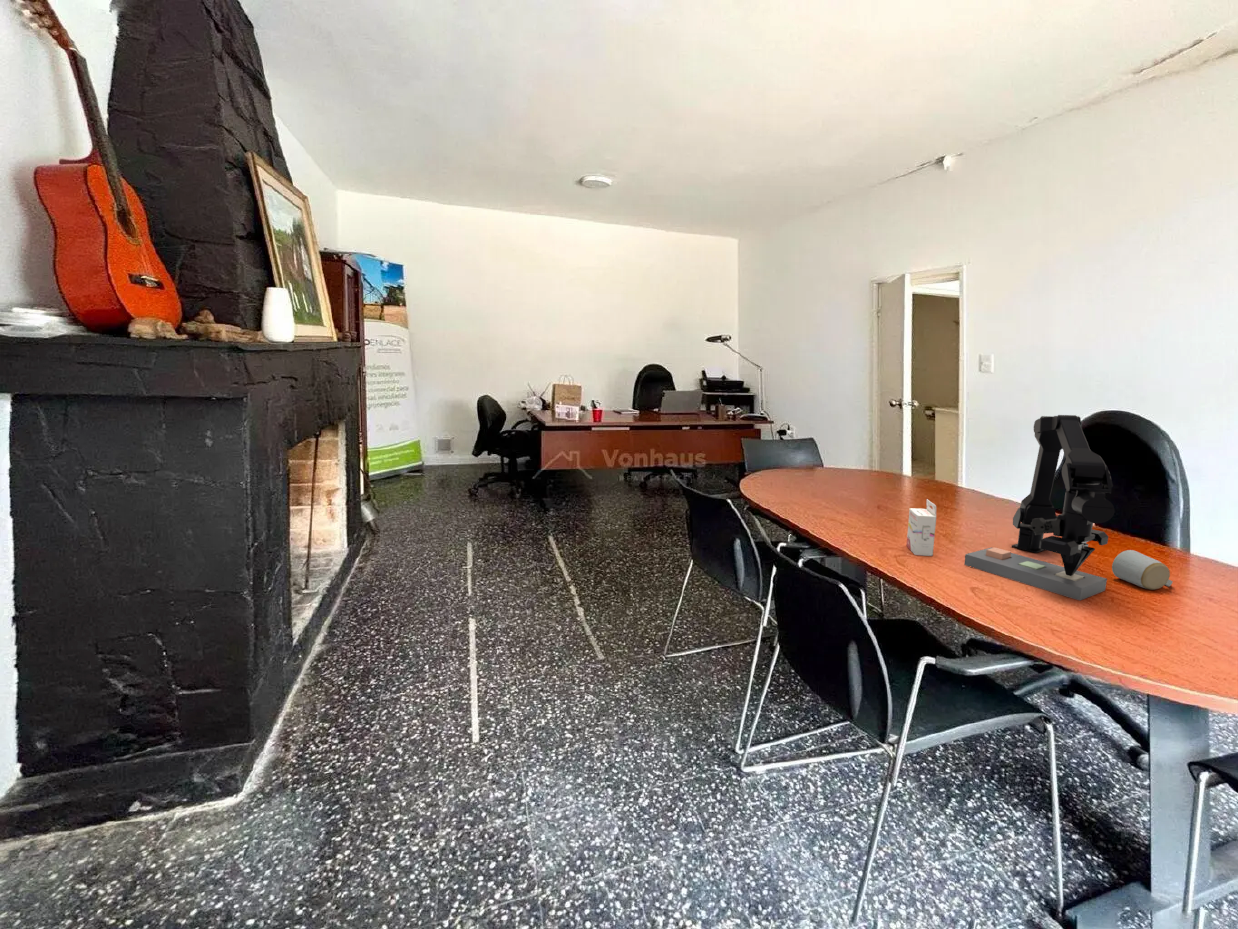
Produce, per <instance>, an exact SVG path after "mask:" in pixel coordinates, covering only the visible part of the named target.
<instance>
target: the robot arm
mask: <svg viewBox="0 0 1238 929" xmlns="http://www.w3.org/2000/svg"><path fill="white" fill-rule="evenodd" d="M1081 423H1082V420H1081V417H1080V416H1077V415H1075V414H1073V415H1072V414H1058V415H1053V416H1051V415H1049V416H1047V415H1046V416H1045V415H1041V416H1040V418H1038V419H1036V420H1035V421H1034V424H1033V433H1034V438H1035V440H1036V441H1037V443H1038V445H1039V448H1038V453H1037V458H1036V463H1035V467H1034V472H1033V478H1032V482H1031V488H1030V491H1029V492H1030V493H1029V494H1028V495H1026V497H1024V498H1023V499H1022V500H1021V502H1020V507H1019V508H1017V510H1016V511H1015V514H1014V515H1013V517H1012V526H1014V527H1015V528H1016V530H1017V529H1018V530H1019V531H1018V537H1017V538H1018V539H1017V543H1014V544H1012V545H1011V547H1012V548H1015V549H1020V550H1022V551H1026V552H1031V553H1034V554H1038V553H1041V552H1045V551H1047V552H1051V553H1055V554H1059V555H1060V556H1061V560H1062V564H1063V567H1064V569H1065V573H1066V575H1069V576H1072V575H1073V574H1074V573H1075V572H1076V571H1078V570H1079V568H1081V566H1082V565H1083V563H1085V561H1086V560H1088V557H1089V556H1090V555H1092V553H1093V552H1094V551H1095V550H1096V548H1094V547H1092V546H1089V543H1088V542H1091V541H1092V542H1096V543H1098V545H1099V546H1104V545H1108V541H1109V535H1108V534H1107V533H1106V532H1105V531H1103V530H1096V529H1093V526H1094V524H1103V523H1107V522H1108V521H1110V520H1111V519H1112V518H1113V517H1114V514H1115V512H1116V511H1115V510H1116V509H1115V507H1114V504H1113V503H1112V502H1111V501H1110V500H1108V499H1106V494H1107V493H1108V494H1112V488H1113V487H1114V484H1113V481H1112V480H1113V479H1112V476H1111V473H1110V470H1109V468H1108V466H1107V464H1106V463H1105V461H1104V459H1103V458H1102V457H1101V455H1099V454H1097V453H1095V452H1094V451H1092V450H1091V449H1090V448H1091V447H1090V446H1089V442H1088V441H1087V438H1086V436H1085V434H1084V431H1083V428H1082V426H1081V425H1082V424H1081ZM1062 451H1063V454H1064V457H1065V460H1064V463H1063V465H1062V466H1061V477H1062V480H1063V483H1064V487H1065V489H1066V490H1065V492H1064V493H1065V495H1064V502H1063V508H1062V513H1061V514H1060V513H1059V514H1056V512H1057V511H1056V508H1055V506H1054V505H1053V503H1052V500H1051V496H1052V491H1053V486H1054V481H1055V478H1056V472H1057V467H1058V462H1059V459H1060V453H1061V452H1062ZM1044 534H1053V535H1050V536H1046V537H1044Z"/></svg>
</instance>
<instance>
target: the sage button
mask: <svg viewBox="0 0 1238 929" xmlns="http://www.w3.org/2000/svg"><path fill="white" fill-rule="evenodd" d="M1019 565H1021V566H1024V567H1028V568H1031V569H1035V570H1039V569H1042V568H1045V566H1044V565H1040V564H1037V563H1033V562H1029V561H1026V562H1023V563H1019Z"/></svg>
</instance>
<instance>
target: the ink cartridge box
mask: <svg viewBox="0 0 1238 929" xmlns="http://www.w3.org/2000/svg"><path fill="white" fill-rule="evenodd" d="M936 526H937V505H936V504H935V503H933V502H932V501H930V500H929V499H928V498H926V508H914V507H913V508H912V507H911V508H909V512H908V525H907V534H906V547H907V548H908V549H909V550H910V551H911V553H913V555H914V556H924V557H925V556H929V557H932V556H934V549H935V548H934V547H935V546H934V545H935V534H936Z"/></svg>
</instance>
